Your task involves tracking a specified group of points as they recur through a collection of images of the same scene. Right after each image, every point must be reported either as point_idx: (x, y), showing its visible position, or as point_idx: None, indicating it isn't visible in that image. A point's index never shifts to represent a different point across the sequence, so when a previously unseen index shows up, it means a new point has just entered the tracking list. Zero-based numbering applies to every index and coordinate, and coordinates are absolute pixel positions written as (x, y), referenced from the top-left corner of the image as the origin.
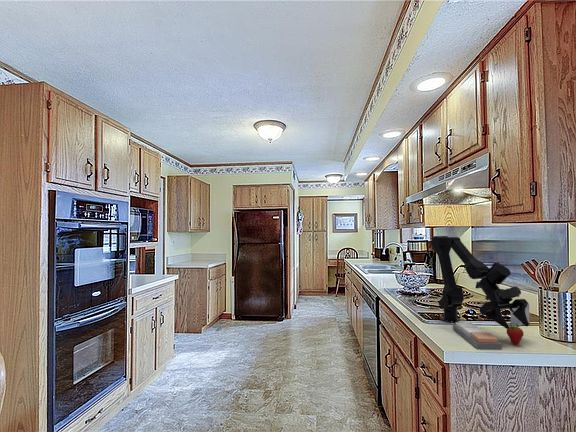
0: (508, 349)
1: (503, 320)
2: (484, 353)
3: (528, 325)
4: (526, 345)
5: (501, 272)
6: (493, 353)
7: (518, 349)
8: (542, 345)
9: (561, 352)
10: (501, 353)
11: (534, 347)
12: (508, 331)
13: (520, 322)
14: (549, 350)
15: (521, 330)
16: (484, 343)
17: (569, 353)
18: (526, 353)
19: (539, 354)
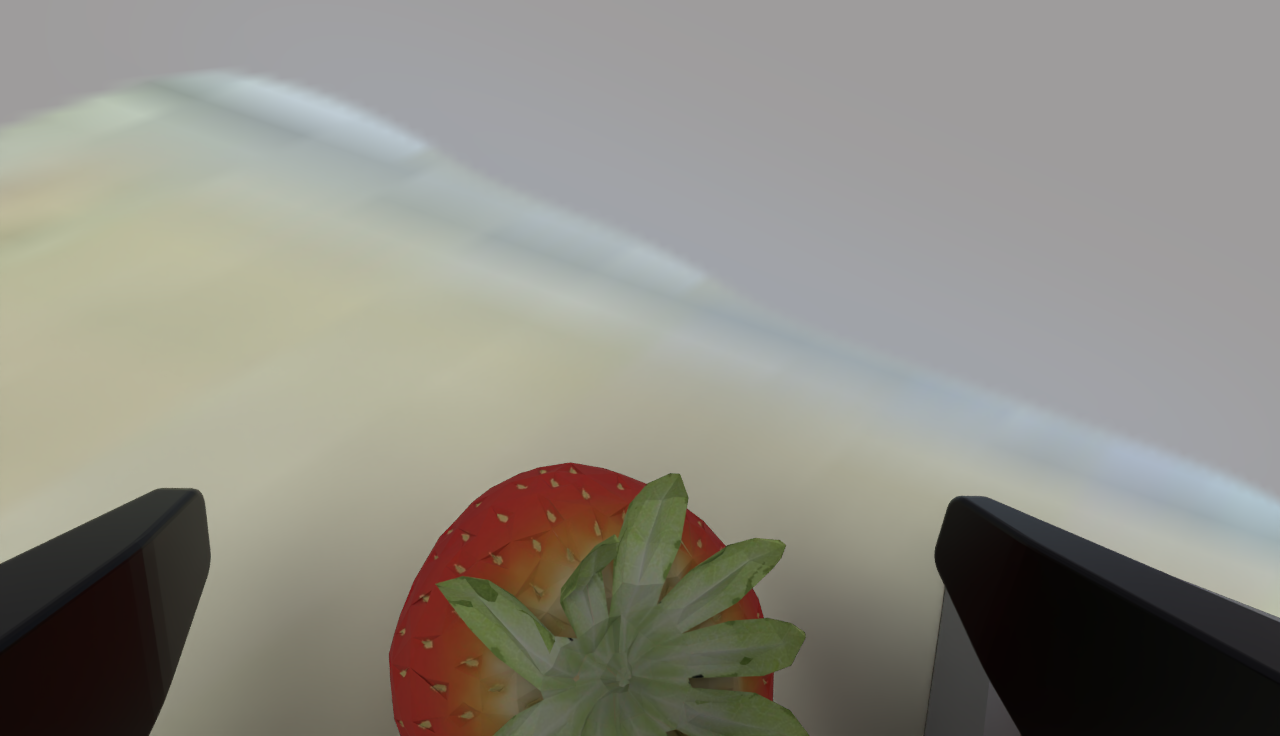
0: (852, 502)
1: (1196, 595)
2: (1250, 487)
3: (183, 495)
4: (404, 557)
5: None
6: (1142, 449)
7: (706, 453)
8: (113, 466)
9: (202, 161)
10: (1043, 415)
11: (370, 437)
12: (773, 674)
13: None
14: (282, 269)
15: (551, 476)
16: (1262, 613)
17: (136, 101)
18: (726, 305)
19: (588, 224)
